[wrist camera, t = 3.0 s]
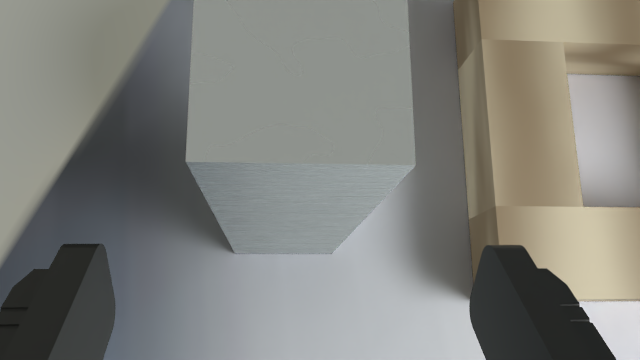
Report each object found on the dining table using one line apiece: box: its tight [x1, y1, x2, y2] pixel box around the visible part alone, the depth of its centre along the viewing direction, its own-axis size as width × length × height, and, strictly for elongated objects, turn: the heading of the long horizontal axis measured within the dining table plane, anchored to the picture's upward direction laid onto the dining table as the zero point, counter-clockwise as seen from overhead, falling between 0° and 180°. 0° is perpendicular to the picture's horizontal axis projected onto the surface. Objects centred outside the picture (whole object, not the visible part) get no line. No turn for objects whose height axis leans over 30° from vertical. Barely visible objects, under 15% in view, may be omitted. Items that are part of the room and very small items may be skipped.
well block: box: [453, 0, 640, 301], centre depth 24 cm, size 14×14×3 cm
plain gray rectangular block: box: [186, 0, 416, 254], centre depth 17 cm, size 4×4×14 cm
